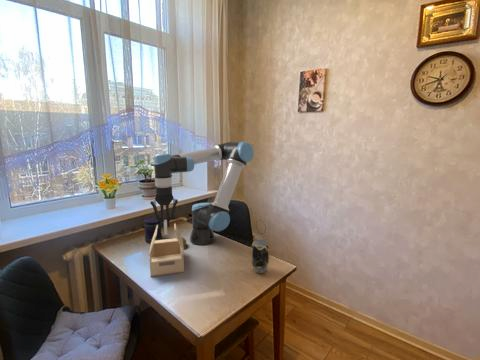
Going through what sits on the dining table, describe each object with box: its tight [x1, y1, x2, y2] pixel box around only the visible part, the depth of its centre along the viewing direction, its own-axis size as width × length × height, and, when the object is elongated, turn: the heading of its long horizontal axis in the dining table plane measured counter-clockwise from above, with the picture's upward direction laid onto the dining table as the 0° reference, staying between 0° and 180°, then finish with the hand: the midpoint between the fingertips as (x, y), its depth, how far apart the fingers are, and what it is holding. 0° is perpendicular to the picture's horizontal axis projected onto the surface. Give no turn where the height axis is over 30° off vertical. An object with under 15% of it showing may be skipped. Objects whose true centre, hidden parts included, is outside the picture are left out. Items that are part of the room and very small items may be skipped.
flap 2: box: [174, 223, 185, 253], centre depth 124 cm, size 10×15×1 cm
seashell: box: [181, 236, 188, 250], centre depth 144 cm, size 10×7×8 cm
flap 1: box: [148, 225, 158, 257], centre depth 120 cm, size 10×15×1 cm
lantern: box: [251, 219, 270, 274], centre depth 119 cm, size 9×8×25 cm
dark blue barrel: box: [143, 216, 163, 245], centre depth 150 cm, size 10×10×15 cm
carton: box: [149, 237, 185, 278], centre depth 124 cm, size 15×25×9 cm, turn 16°
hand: (165, 233), depth 122 cm, fingers closed
